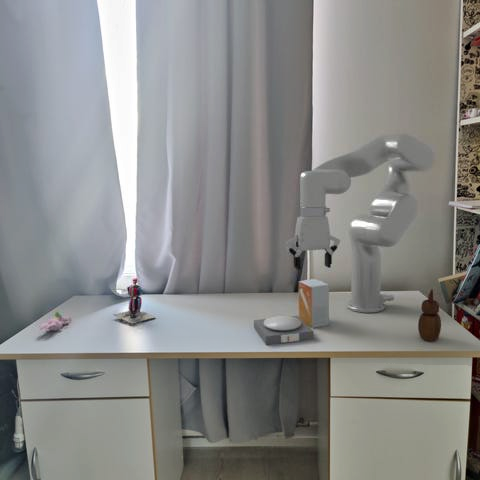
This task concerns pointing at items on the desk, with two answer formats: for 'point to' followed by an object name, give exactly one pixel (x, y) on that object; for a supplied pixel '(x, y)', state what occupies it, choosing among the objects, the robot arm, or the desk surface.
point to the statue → (134, 307)
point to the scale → (282, 329)
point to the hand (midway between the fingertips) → (312, 267)
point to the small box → (314, 302)
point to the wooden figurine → (429, 319)
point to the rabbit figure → (55, 322)
